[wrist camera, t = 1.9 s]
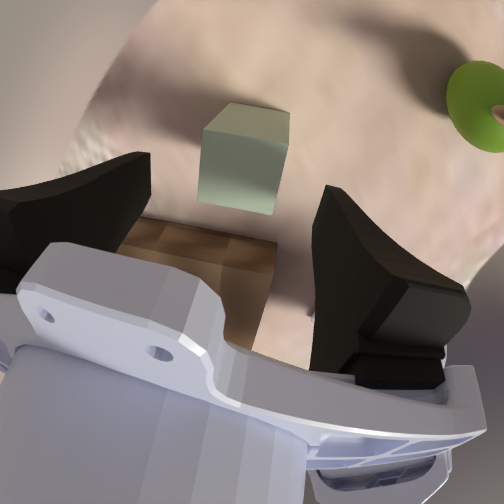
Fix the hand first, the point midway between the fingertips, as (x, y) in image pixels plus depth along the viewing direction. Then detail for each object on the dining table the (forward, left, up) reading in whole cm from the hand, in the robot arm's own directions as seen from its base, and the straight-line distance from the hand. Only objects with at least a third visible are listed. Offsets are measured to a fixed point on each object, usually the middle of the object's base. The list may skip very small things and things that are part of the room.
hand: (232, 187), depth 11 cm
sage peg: (0, 0, -7) cm, 7 cm away
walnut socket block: (+3, +14, -7) cm, 16 cm away
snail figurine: (-13, -7, -8) cm, 17 cm away
